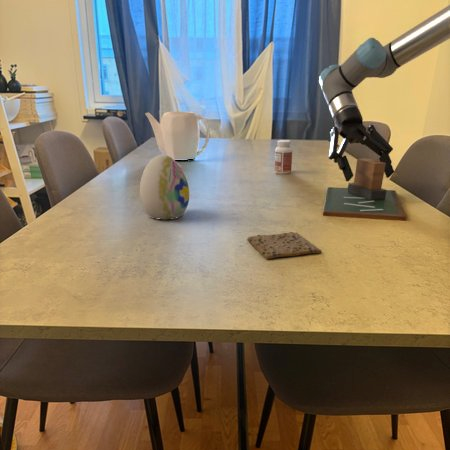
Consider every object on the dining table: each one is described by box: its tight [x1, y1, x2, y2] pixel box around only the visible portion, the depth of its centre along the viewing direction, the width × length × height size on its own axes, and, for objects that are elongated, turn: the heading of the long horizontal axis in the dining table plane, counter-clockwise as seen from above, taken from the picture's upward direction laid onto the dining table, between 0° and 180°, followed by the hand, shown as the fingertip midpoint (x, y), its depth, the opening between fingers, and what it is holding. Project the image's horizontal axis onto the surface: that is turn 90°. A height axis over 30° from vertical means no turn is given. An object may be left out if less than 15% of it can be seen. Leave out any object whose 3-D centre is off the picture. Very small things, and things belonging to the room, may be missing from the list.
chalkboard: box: [322, 186, 407, 221], centre depth 120 cm, size 20×28×1 cm
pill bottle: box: [273, 139, 293, 175], centre depth 157 cm, size 6×6×11 cm
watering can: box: [144, 110, 211, 160], centre depth 181 cm, size 16×27×19 cm, turn 88°
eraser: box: [347, 158, 388, 200], centre depth 122 cm, size 11×5×10 cm, turn 20°
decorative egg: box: [139, 154, 190, 220], centre depth 107 cm, size 12×12×15 cm
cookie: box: [246, 231, 323, 260], centre depth 90 cm, size 12×12×1 cm
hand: (370, 176), depth 121 cm, fingers open, 13 cm apart
